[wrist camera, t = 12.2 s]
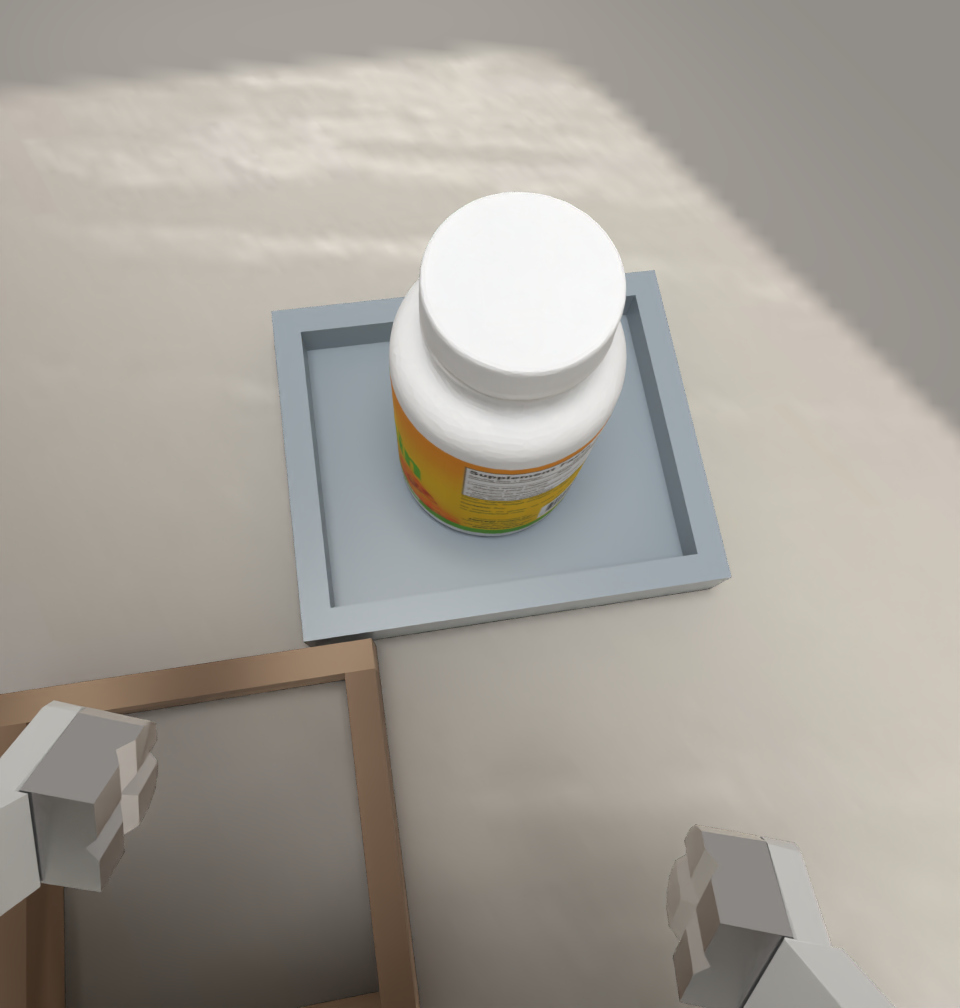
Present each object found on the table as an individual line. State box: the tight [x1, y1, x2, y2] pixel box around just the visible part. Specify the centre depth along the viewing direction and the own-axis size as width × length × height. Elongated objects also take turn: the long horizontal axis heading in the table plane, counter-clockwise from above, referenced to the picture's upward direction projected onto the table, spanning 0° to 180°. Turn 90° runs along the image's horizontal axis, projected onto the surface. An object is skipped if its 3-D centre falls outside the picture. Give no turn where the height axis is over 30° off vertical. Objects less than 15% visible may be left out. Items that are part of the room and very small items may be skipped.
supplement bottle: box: [389, 192, 627, 536], centre depth 20 cm, size 5×5×10 cm
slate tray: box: [272, 270, 731, 647], centre depth 24 cm, size 12×10×2 cm
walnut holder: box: [0, 638, 420, 1008], centre depth 20 cm, size 10×10×2 cm
